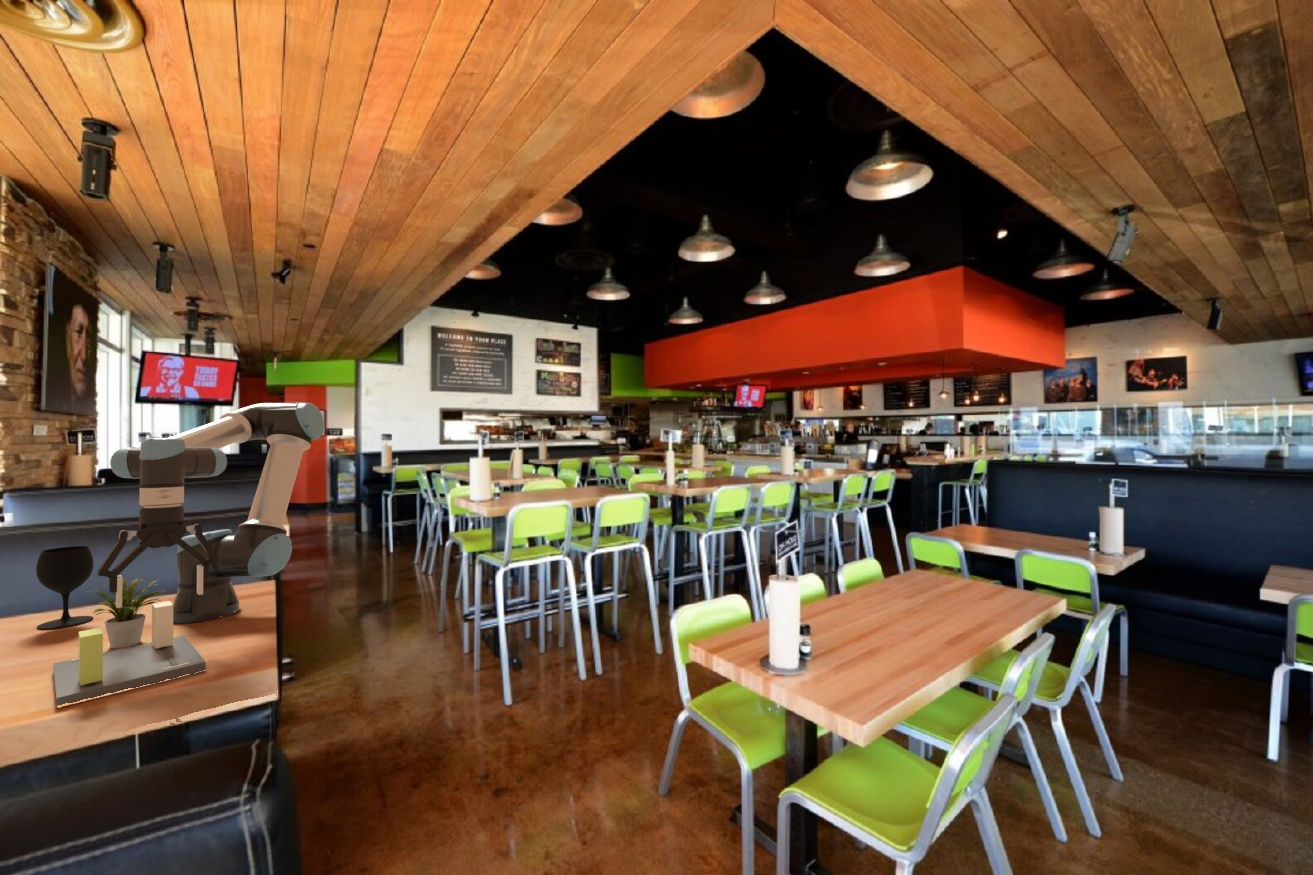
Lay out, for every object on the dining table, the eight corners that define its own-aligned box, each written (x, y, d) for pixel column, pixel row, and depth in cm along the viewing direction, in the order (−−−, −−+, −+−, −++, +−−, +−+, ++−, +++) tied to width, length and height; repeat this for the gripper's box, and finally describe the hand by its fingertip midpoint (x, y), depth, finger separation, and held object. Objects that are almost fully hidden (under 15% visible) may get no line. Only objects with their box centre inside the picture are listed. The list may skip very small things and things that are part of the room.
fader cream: (169, 639, 126) (169, 600, 126) (173, 644, 123) (173, 604, 123) (152, 643, 124) (152, 603, 124) (155, 648, 120) (155, 607, 120)
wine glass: (91, 614, 153) (91, 543, 153) (95, 622, 146) (95, 548, 146) (35, 624, 145) (35, 549, 145) (37, 632, 138) (37, 554, 138)
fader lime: (100, 672, 108) (100, 627, 108) (102, 680, 104) (102, 633, 104) (78, 678, 105) (78, 631, 105) (80, 685, 102) (80, 637, 102)
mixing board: (184, 643, 130) (184, 634, 130) (205, 671, 114) (205, 660, 114) (53, 672, 114) (53, 662, 114) (56, 708, 98) (56, 696, 98)
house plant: (108, 660, 120) (108, 586, 120) (61, 655, 123) (61, 583, 123) (176, 637, 134) (176, 571, 134) (133, 633, 137) (133, 569, 137)
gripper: (83, 512, 111) (81, 616, 111) (234, 502, 130) (233, 591, 130) (81, 509, 116) (79, 609, 116) (227, 500, 135) (226, 586, 135)
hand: (161, 600), depth 123 cm, fingers open, 13 cm apart
